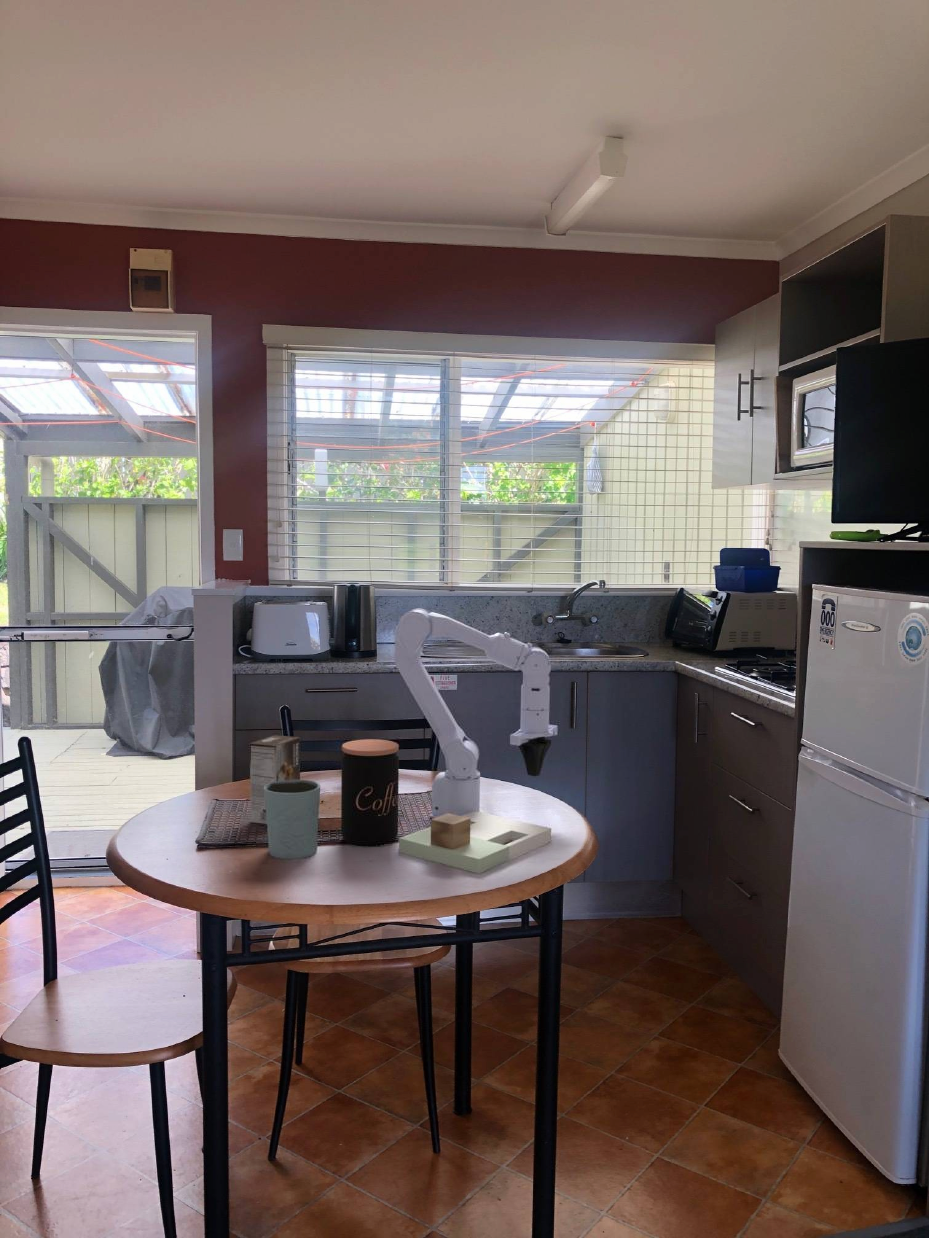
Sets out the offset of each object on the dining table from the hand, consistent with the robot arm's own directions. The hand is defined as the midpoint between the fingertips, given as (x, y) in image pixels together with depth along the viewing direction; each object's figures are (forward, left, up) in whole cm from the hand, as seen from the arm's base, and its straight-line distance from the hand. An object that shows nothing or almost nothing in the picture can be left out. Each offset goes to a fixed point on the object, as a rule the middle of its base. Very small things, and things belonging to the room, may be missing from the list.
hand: (533, 775), depth 189 cm
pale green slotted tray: (+1, -21, -9) cm, 23 cm away
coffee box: (-41, -32, -10) cm, 53 cm away
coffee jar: (-17, -30, -10) cm, 36 cm away
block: (+1, -29, -7) cm, 29 cm away
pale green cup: (-23, -44, -10) cm, 51 cm away
